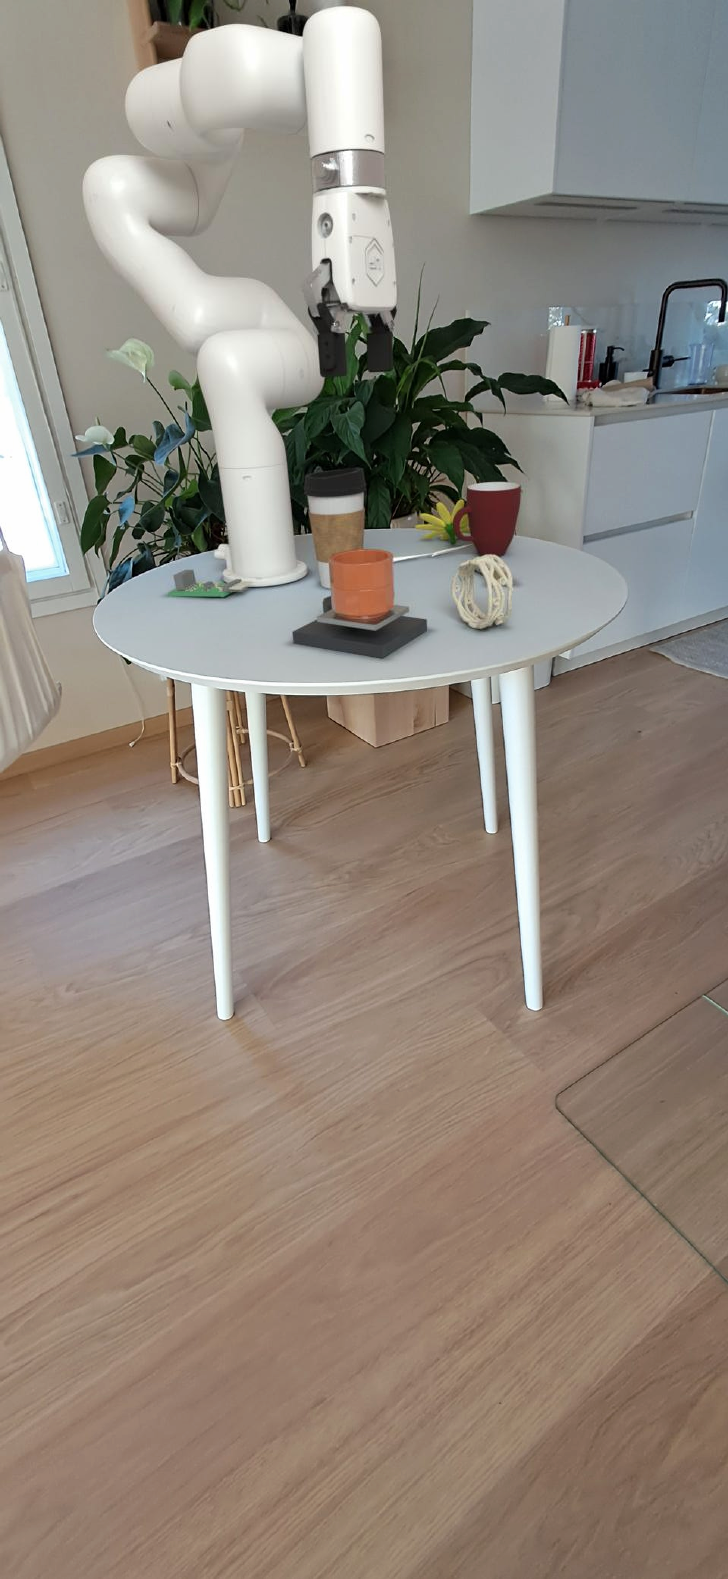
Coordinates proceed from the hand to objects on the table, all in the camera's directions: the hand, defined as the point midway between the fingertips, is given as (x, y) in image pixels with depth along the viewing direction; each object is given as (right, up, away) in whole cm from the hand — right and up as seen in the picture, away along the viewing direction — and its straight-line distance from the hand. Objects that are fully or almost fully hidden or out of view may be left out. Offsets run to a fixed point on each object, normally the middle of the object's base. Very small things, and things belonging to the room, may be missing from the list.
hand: (358, 374), depth 86 cm
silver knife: (+21, -8, +36) cm, 42 cm away
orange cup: (+1, -27, -2) cm, 27 cm away
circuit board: (-20, -17, +23) cm, 35 cm away
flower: (+10, -4, +36) cm, 38 cm away
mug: (+20, -11, +33) cm, 39 cm away
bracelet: (+14, -28, +3) cm, 32 cm away
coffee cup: (-2, -18, +23) cm, 29 cm away
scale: (0, -29, +2) cm, 29 cm away
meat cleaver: (+21, -16, +23) cm, 34 cm away
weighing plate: (+1, -28, -1) cm, 28 cm away
